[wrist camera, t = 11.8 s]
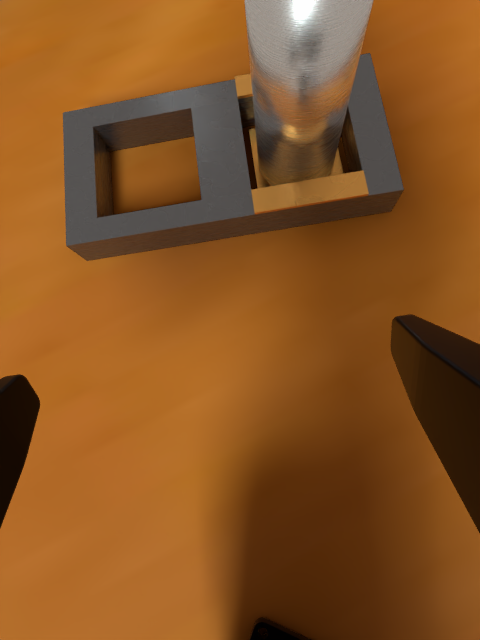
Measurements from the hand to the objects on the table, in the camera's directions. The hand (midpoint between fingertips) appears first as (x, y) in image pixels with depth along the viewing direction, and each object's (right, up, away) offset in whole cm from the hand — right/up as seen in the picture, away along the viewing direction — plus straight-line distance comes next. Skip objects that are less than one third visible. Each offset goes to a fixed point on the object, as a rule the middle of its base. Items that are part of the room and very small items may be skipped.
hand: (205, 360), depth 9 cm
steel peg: (+5, +12, +16) cm, 20 cm away
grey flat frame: (0, +11, +16) cm, 20 cm away
